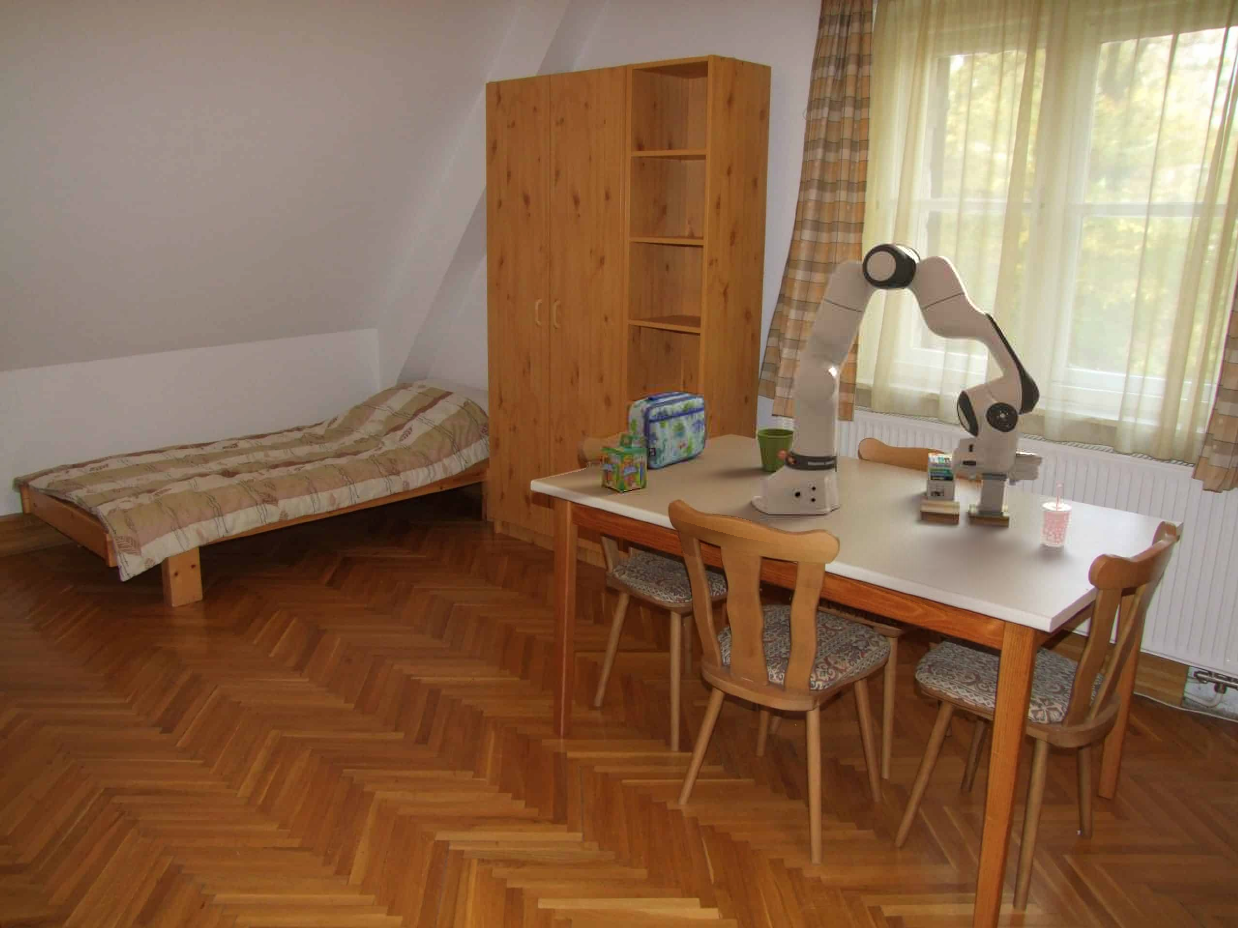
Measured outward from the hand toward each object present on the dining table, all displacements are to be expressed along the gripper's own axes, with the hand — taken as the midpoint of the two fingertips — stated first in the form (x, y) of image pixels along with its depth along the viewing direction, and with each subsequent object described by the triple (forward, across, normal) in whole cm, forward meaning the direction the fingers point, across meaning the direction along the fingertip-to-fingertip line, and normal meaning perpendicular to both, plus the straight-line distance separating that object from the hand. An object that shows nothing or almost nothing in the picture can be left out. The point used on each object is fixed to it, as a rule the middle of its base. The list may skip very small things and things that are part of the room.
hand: (991, 481), depth 258 cm
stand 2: (+6, 0, +7) cm, 9 cm away
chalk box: (+7, +96, +6) cm, 96 cm away
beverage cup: (-5, -14, +18) cm, 24 cm away
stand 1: (+5, +12, +8) cm, 15 cm away
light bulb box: (+18, +12, -4) cm, 22 cm away
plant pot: (+29, +59, -15) cm, 68 cm away
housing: (+3, 0, +7) cm, 7 cm away
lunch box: (+29, +92, -15) cm, 97 cm away
